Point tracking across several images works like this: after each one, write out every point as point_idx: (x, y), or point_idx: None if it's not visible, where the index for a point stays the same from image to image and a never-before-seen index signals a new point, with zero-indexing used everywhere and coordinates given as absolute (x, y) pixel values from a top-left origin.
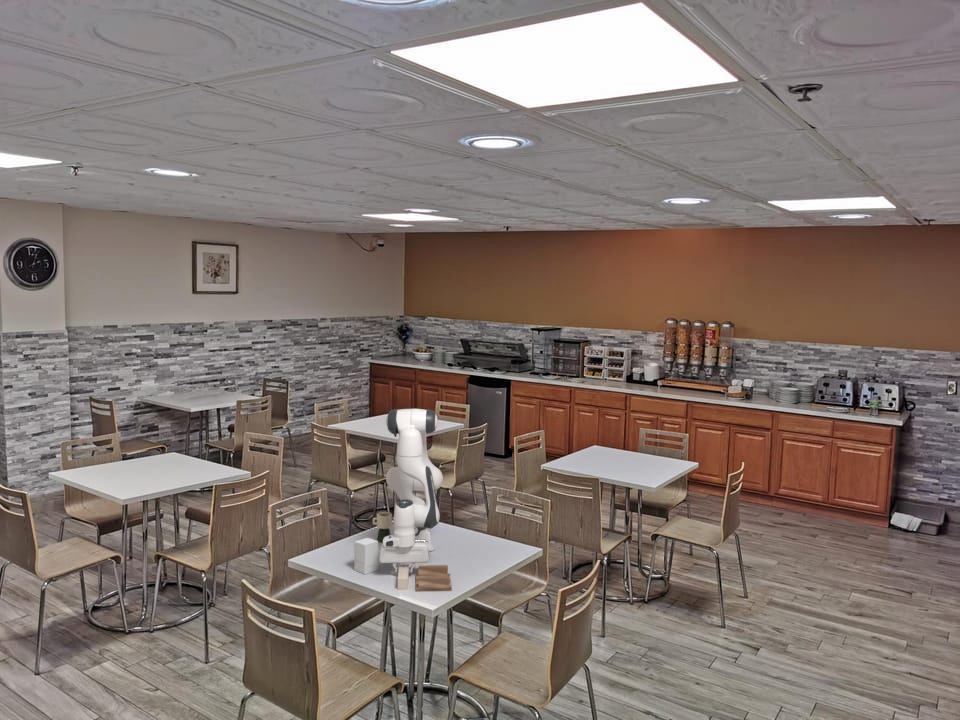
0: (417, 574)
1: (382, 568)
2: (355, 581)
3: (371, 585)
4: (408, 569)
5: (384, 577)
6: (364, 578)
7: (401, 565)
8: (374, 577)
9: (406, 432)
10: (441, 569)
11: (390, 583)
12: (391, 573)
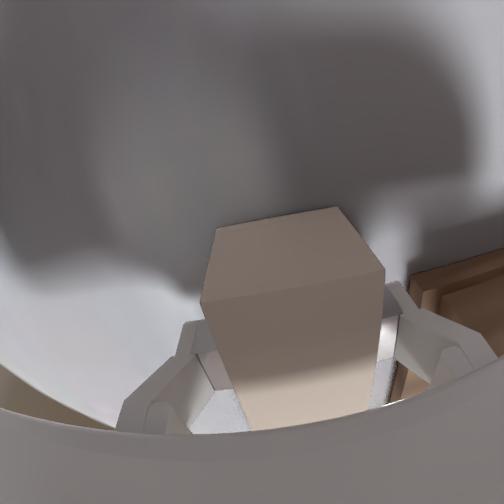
0: (434, 295)
1: (6, 118)
2: (19, 375)
3: (116, 421)
4: (366, 409)
5: (112, 326)
6: (20, 344)
7: (254, 340)
8: (51, 329)
9: None
10: None
11: (211, 406)
12: (124, 225)
